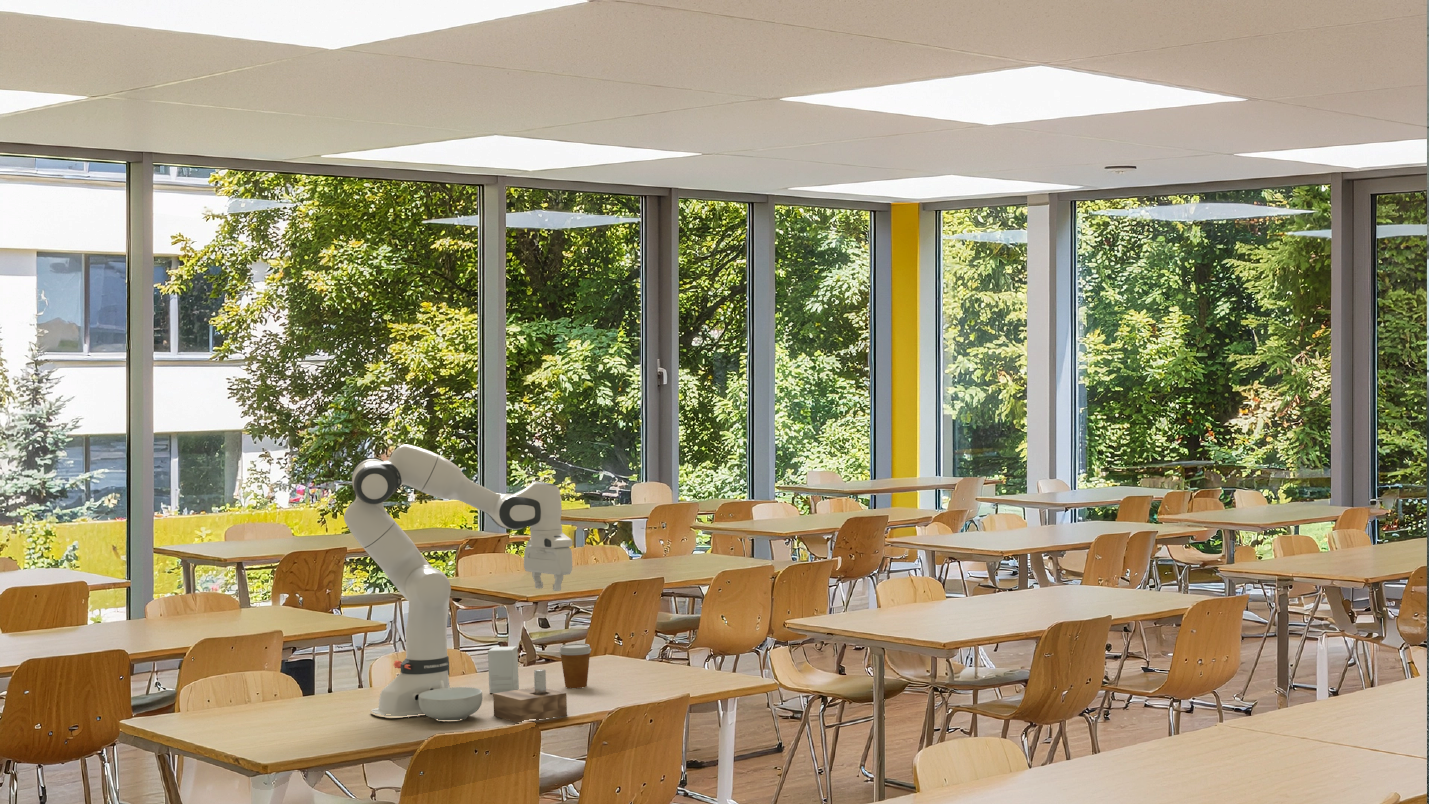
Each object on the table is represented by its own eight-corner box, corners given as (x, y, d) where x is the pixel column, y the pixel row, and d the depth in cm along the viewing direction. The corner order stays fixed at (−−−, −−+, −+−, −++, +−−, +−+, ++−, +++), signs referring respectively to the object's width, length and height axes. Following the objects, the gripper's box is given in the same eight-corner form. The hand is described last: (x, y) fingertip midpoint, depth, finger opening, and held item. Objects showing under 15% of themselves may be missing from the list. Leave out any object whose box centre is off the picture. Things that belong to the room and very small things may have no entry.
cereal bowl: (414, 716, 396) (413, 690, 396) (475, 710, 402) (475, 684, 402) (425, 728, 380) (424, 700, 380) (489, 721, 386) (488, 694, 386)
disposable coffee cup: (590, 689, 431) (589, 647, 431) (557, 690, 431) (556, 648, 431) (593, 683, 440) (592, 643, 440) (562, 684, 440) (560, 643, 440)
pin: (538, 709, 390) (537, 671, 390) (532, 708, 392) (532, 670, 392) (548, 708, 392) (547, 670, 392) (542, 706, 394) (541, 669, 394)
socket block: (520, 723, 382) (520, 700, 383) (493, 716, 393) (493, 693, 394) (567, 715, 391) (566, 693, 391) (539, 708, 402) (538, 686, 402)
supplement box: (519, 689, 434) (518, 645, 434) (513, 693, 427) (512, 649, 427) (494, 689, 435) (493, 646, 435) (488, 694, 427) (487, 650, 428)
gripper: (517, 539, 419) (519, 588, 419) (556, 542, 403) (557, 593, 403) (536, 537, 423) (538, 586, 423) (575, 540, 407) (577, 590, 407)
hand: (548, 589), depth 413 cm, fingers open, 8 cm apart
